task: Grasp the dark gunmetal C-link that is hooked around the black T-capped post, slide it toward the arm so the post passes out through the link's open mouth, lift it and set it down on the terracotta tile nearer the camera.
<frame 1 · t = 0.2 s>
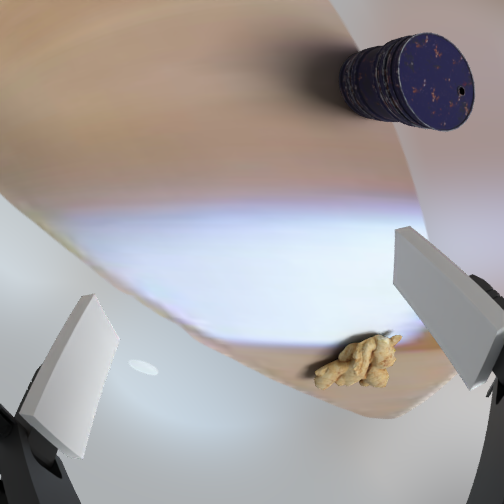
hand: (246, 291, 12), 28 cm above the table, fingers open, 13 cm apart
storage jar: (371, 85, 33), on the table
ginger root: (359, 351, 55), on the table
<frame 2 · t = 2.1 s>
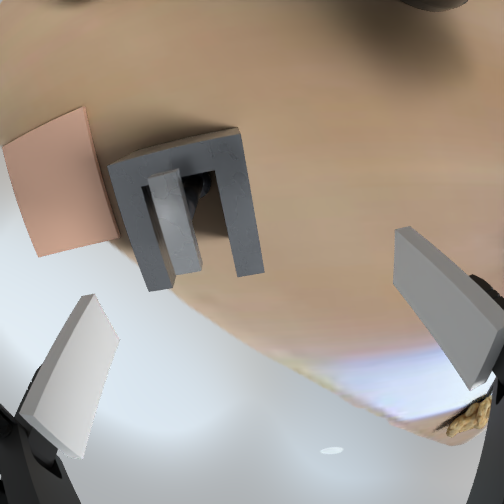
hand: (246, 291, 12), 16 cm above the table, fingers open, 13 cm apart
tile: (56, 187, 25), on the table
post stand: (195, 181, 26), on the table
c link: (197, 192, 26), on the table
ginger root: (472, 406, 55), on the table
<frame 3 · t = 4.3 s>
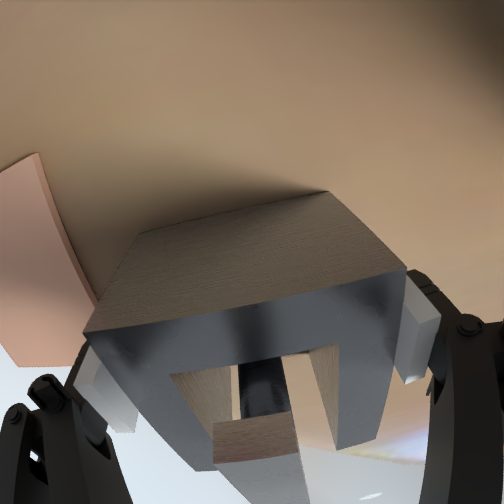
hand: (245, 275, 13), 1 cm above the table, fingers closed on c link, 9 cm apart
tile: (18, 284, 14), on the table
post stand: (250, 285, 15), on the table
c link: (253, 300, 16), on the table, touching gripper
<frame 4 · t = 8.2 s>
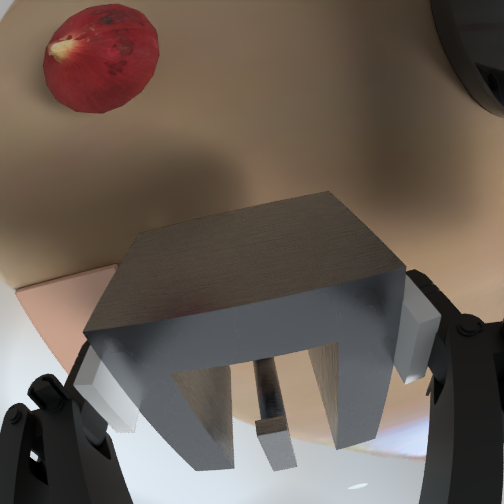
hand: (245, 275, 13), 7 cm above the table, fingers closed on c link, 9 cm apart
onion: (124, 66, 14), on the table
tile: (95, 340, 23), on the table
post stand: (260, 340, 24), on the table
c link: (253, 300, 16), point 5 cm above the table, touching gripper
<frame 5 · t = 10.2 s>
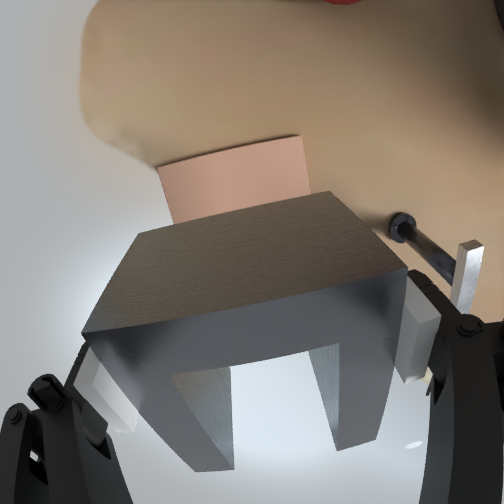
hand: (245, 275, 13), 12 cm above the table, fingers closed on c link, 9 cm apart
tile: (246, 226, 25), on the table
post stand: (401, 226, 26), on the table
c link: (253, 300, 16), point 10 cm above the table, touching gripper
when the fingers open (3 cm above the table, at t = 12.0 s): c link drops 1 cm, resting on tile.
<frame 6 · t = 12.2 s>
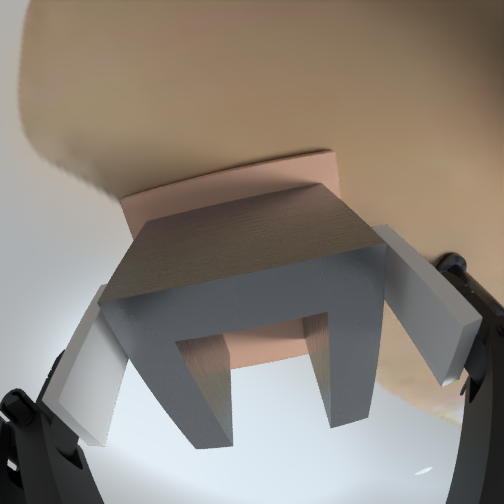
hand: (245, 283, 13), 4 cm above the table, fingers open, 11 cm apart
tile: (251, 280, 17), on the table
post stand: (448, 270, 18), on the table
c link: (252, 285, 17), point 1 cm above the table, touching tile
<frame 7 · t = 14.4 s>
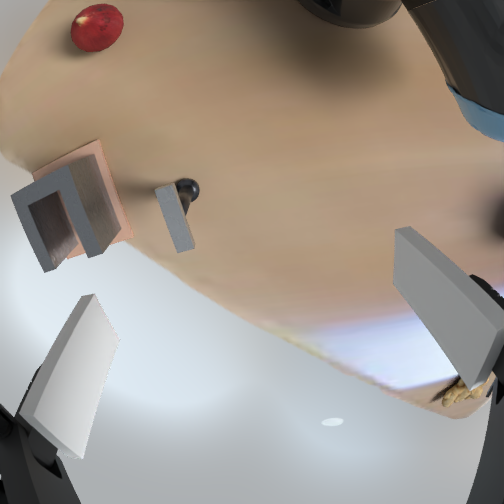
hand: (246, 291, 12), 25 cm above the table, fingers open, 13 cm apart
onion: (109, 35, 25), on the table
tile: (80, 202, 34), on the table
post stand: (187, 189, 35), on the table
c link: (78, 203, 33), point 1 cm above the table, touching tile
ginger root: (465, 377, 62), on the table
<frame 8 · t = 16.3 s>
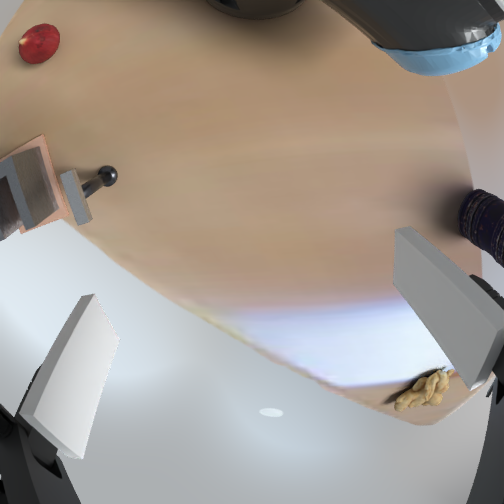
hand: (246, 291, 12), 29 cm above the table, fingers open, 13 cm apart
onion: (53, 46, 27), on the table
tile: (30, 186, 36), on the table
post stand: (108, 175, 37), on the table
c link: (28, 186, 35), point 1 cm above the table, touching tile
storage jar: (474, 213, 44), on the table
ginger root: (423, 382, 65), on the table
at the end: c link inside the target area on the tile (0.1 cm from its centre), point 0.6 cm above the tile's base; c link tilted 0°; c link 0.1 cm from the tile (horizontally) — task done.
